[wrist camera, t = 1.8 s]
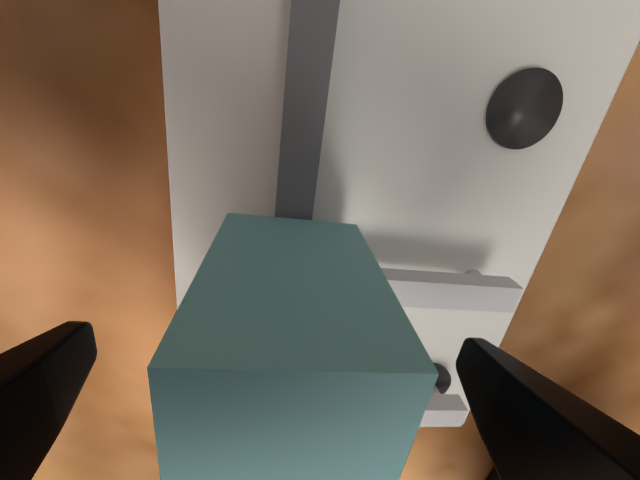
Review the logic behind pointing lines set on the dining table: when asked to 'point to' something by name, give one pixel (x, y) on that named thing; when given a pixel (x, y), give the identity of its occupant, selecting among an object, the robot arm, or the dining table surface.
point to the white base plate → (391, 132)
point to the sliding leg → (300, 355)
